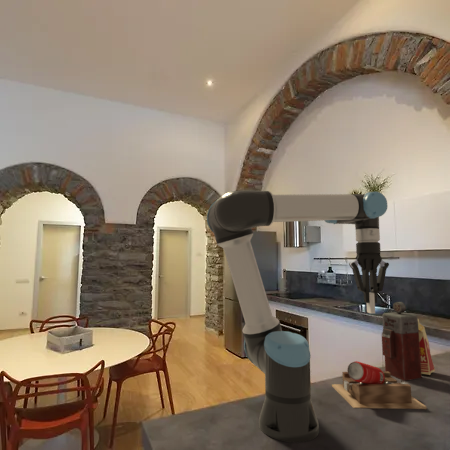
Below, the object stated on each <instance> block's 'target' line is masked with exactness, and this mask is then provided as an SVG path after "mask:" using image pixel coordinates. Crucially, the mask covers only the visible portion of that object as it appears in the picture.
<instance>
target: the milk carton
mask: <svg viewBox="0 0 450 450" xmlns="http://www.w3.org/2000/svg"><path fill="white" fill-rule="evenodd" d="M418 329H419V345H420V361H421V375H429V376H430V375H431V374H432V373H434V372H435V371H436V369H435V366H434V362H433V358H432V355H431V349H430V343H429V342H430V341H429V338H428V335H427V333H426V332H427V331H426V328H425V326H424V325H423V324H422V323H420V319H419V318H418Z"/></svg>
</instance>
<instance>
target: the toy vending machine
mask: <svg viewBox="0 0 450 450" xmlns="http://www.w3.org/2000/svg"><path fill="white" fill-rule="evenodd" d="M406 308H407V307H406V304H405V303H404V302H403V301H396V302H394V303H393V304H392V309H393V311H394V312H393V311H391V312H384V313H383V314H382V332H381V347H382V349H381V350H382V356H384V371H388V372H390V373H391V377H394V378H396V379H399V380H400V381H401V380H404V381H406V382H407V381H411V380H412V381H413V380H416V379H417V380H418V379H422V374H421V361H420V345H419V329H418V319H419V318H418V315H416V314H412V313H407V312H405V311H406Z"/></svg>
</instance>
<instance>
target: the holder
mask: <svg viewBox="0 0 450 450" xmlns="http://www.w3.org/2000/svg"><path fill="white" fill-rule="evenodd" d="M382 371H383V370H382ZM383 373H384V376H385V380H384V382H383V384H352V388H349V391H346V390H345V389H344V381H347V382H348V383H359V382H357V381H354V380H353V379H352V378H351V377H350V376H349V374H348V371H342V383H341V384H340V383H339V384H338V383H336V384H331V386H332V388H333V389H334V390H335V391H336V393H338V394H339V395H340V397H342V398H343V399H344V401H346V402H347V403H348V404H349V405H350V406H351V407H352V408H353V409H396V410H397V409H400V410H401V409H409V410H410V409H412V410H413V409H415V410H417V409H418V410H427V409H428V408H427V405H425V404H424V403H422V402H421V401H419V400H418V399H416V398H415V397H414V396H412V386H411V385H410V384H409V383H408V384H401V382H398V380H396V379H395V377H394V378H393V376H391V373H390V372H388V371H385V370H384V371H383ZM387 381H389V382H391V383H392V384H385V382H387Z"/></svg>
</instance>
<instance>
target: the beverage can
mask: <svg viewBox="0 0 450 450" xmlns="http://www.w3.org/2000/svg"><path fill="white" fill-rule="evenodd" d="M346 372H348V374H349V376H350V377H351V378H352V379H353V380H354V381H357V382H361V383H365V384H383V382H384V380H385V376H384V373H383V370H382V369H381V368H379V367H376V366H375V365H374V366H373V365H371V364H367V363H365V362H361V361H357V360H356V361H352V362H350V363H349V364H348V365H347V369H346Z"/></svg>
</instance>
